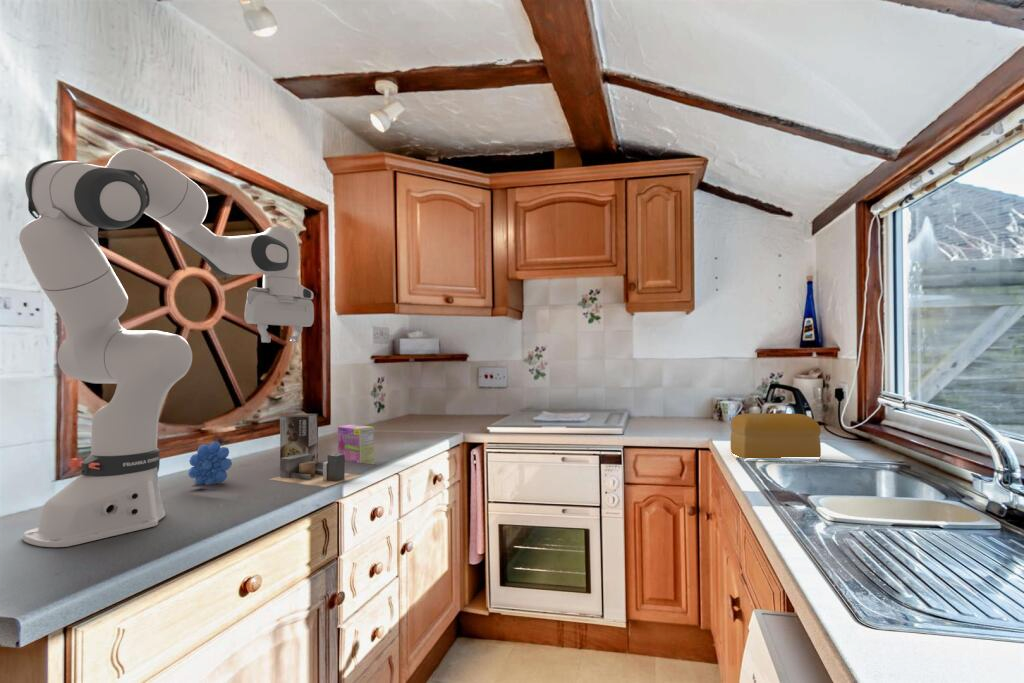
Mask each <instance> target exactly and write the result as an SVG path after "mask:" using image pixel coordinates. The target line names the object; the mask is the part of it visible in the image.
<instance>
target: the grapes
mask: <svg viewBox="0 0 1024 683" xmlns="http://www.w3.org/2000/svg"><path fill="white" fill-rule="evenodd" d="M229 454H230V450H229V448H228V447H224V446H222V447H221V443H220V442H218V441H215V440H214V441H212V442H211V443H209V444H201V445H200V446H198V448H197V450H196V453H195V454H192V455H191V457H190V458H189V461H188V462H189V465H190V466H191V467H190V469H189V471H188V473H187V474H188V477H189V478H190V479H194V486H196V485H200V484H201V485H202V484H204V485H214V484H218V483H223V482H225V480H227V477H228V473H227V471H228V470H230V469H231V467H232V464H233V463H232V459H230V458H228V457H229Z"/></svg>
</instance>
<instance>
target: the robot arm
mask: <svg viewBox="0 0 1024 683" xmlns="http://www.w3.org/2000/svg"><path fill="white" fill-rule="evenodd" d="M24 188H25V193H26V197H27V200H28V201H27V202H28V203H27V209H28V212H29V214H30V215H31V216H32V217H33V218H34V219H33V220H31V221H29V222H27V223H26V224H25V225H24V226H23V227H22V228H21V229H20V231H19V234H18V242H19V246H20V248H21V250H22V253H23V256H24V258H25V260H26V262H27V264H28V267H29V268H30V269H29V270H31V272H32V274H33V276H34V277H35V279H36V281H37V282H38V284H39V286H40V287H41V289H42V290H43V292H44V293H45V295H46V296H47V298H48V299H49V301H50V302H51V304H52V306H53V308H54V309H55V312H57V314H58V316H59V317H60V319H61V321H62V323H63V326H64V331H65V339H64V340H63V341H62V342H61V344H60V346H59V348H58V352H57V363H58V366H59V368H60V370H61V372H62V373H63V374H64V375H65V376H67V377H69V378H70V379H73V380H78V381H81V382H85V383H90V384H104V385H105V384H113V385H114V384H115V385H116V388H115V391H114V394H113V396H112V398H111V400H110V401H109V402H108V403H107V404H106V405H104V406H102V407H100V408H99V409H97V410H96V411H95V413H94V414H93V416H92V418H91V438H90V439H91V440H90V441H91V442H90V445H91V446H90V447H91V448H90V450H91V451H90V453H89V454H88V456H87V457H86V458H84V459H83V458H77V457H73V458H70V459H69V461H68V462H67V465H68V467H69V468H70V469H75V470H80V469H81V470H80V475H79V476H77V477H76V478H75V479H73V481H71V482H70V483H68V484H67V485H66V486H64V488H62V489H61V490H59V492H57V493H56V494H54V495H52V497H50V498H49V499H48V500H47V501H46V502H45V503H44V505H43V507H42V509H41V513H40V517H39V523H38V527H35V528H31V529H28V530H25V531H24V532H23V534H22V540H23V542H24V543H27V544H30V545H32V546H33V545H34V546H38V547H43V548H44V547H46V548H65V547H72V546H76V545H81V544H85V543H89V542H93V541H97V540H102V539H106V538H109V537H114V536H119V535H123V534H127V533H132V532H135V531H140V530H144V529H148V528H153V527H156V526H158V525H159V521H160V520H162V519H163V518H164V517H165V516H166V512H165V509H164V506H163V502H162V499H161V498H162V497H161V492H160V485H159V476H158V473H159V470H160V463H161V462H160V461H161V460H160V459H161V458H160V457H161V456H160V449H159V448H158V433H159V421H160V420H159V418H160V412H161V408H162V405H163V403H164V400H165V398H166V396H167V394H168V393H169V391H170V390H171V388H172V387H173V386H174V385H175V384H177V382H178V381H180V380H181V379H182V378H184V377H185V376H186V375H187V373H188V372H189V370H190V369H191V366H192V363H193V351H192V349H191V345H190V344H189V343H188V341H187V340H186V339H185V338H184V337H183V336H181V335H179V334H175V333H170V332H166V331H161V330H127V329H126V328H124V327H123V326H122V324H121V323H120V320H119V318H120V317H121V316H122V315H123V314H124V313H125V311H126V310H127V306H128V303H129V296H128V294H127V292H126V290H125V288H124V287H123V285H122V283H121V281H120V279H119V277H118V276H117V275H116V272H115V271H114V269H113V267H112V266H111V264H110V262H109V261H108V258H107V257H106V255H105V254H104V252H103V251H102V249H101V246H100V242H99V236H98V234H99V232H98V231H99V228H100V229H103V230H119V229H121V230H122V229H126V228H128V227H130V226H132V225H134V224H135V223H137V221H139V220H140V218H142V216H143V215H144V214H145V215H146V216H148V217H150V218H151V219H153V220H155V221H156V222H158V223H159V224H160V226H161V227H162V228H163V229H164V230H165V231H166V232H167V233H168V234H170V235H171V236H172V237H173V238H175V239H176V240H178V241H179V242H181V243H182V244H183V245H184V246H186V247H188V248H189V249H190V250H192V251H193V252H195V253H196V254H197V255H198V256H200V258H202V259H203V261H204V262H206V264H207V265H208V266H209V267H210V268H211V269H212V271H214V272H215V273H216V274H218V275H219V276H222V277H225V278H226V277H234V276H241V275H242V276H243V275H254V274H256V275H257V274H263V276H262V287H257V286H253V287H251V288H250V289H249V290H248V291H247V292H246V302H245V307H244V313H243V314H244V318H243V319H244V321H245V323H246V324H250V325H251V324H253V325H256V326H257V327H256V329H257V331H258V332H259V333H258V334H260V340H261V341H260V342H261V343H271V339H272V335H270V334H269V333H268V330H267V329H268V328H269V325H270V326H284V327H292V330H293V334H292V336H289V339H290V340H289V343H290V344H298V343H299V342H300V336H301V334H302V332H303V328H304V327H305V328H307V327H312V325H313V324H314V321H315V307H314V302H313V301H312V300H313V299H314V292H313V291H312V290H310V289H309V288H307V287H305V286H303V285H302V284H300V277H299V267H300V246H299V245H300V244H299V239H298V237H297V234H296V233H295V231H292V229H289V228H287V227H281V226H271V227H270V226H269V227H268V228H267V229H266V230H265V231H263V232H259V233H258V232H257V233H255V234H246V235H233V236H226V235H219V234H216V233H214V232H213V231H211V230H210V229H209V228H208V227H206V226H205V225H203V222H204V221H205V219H206V217H207V214H208V210H209V202H208V196H207V194H206V192H205V191H204V190H203V189H202V188H201V187H200V186H199V184H197V183H196V182H195V181H193V180H192V179H190V178H189V177H188V176H186V175H185V174H184V173H183V172H181V171H180V170H178V169H177V168H175V167H173V166H171V164H169V163H167V162H165V161H163V160H161V159H160V158H158V157H156V156H154V155H152V154H150V153H148V152H146V151H144V150H141V149H138V148H125V149H122V150H119V151H118V152H116V153H115V154H114V155H112V157H111V158H110V159H109V160H108V162H107V164H106V165H105V166H102V165H95V164H92V163H90V162H83V161H74V160H73V161H72V160H64V159H54V160H47V161H43V162H40V163H38V164H35V165H34V166H33V167H32V168H31V169H29V171H28V173H27V174H26V177H25V182H24Z"/></svg>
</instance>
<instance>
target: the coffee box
mask: <svg viewBox="0 0 1024 683" xmlns="http://www.w3.org/2000/svg"><path fill="white" fill-rule="evenodd" d="M279 432H280V433H279V451H280V452H279V454H280V455H279V462H280V461H281V458H284V457H289V456H293V455H298V454H302V453H306V454H312V462H315V465H316V464H318V463H319V413H287V414H284V415H281V416H280V415H279Z"/></svg>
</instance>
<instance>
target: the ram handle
mask: <svg viewBox="0 0 1024 683" xmlns="http://www.w3.org/2000/svg"><path fill="white" fill-rule="evenodd" d="M345 462H346V461H345V454H338V453H331V454H328V455H327V461H325V462H322V470H323V480H325V481H327V480H328V481H335V482H337V481H340V480H343V479H344V474H345V473H346V472H345V469H346V468H345Z"/></svg>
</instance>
